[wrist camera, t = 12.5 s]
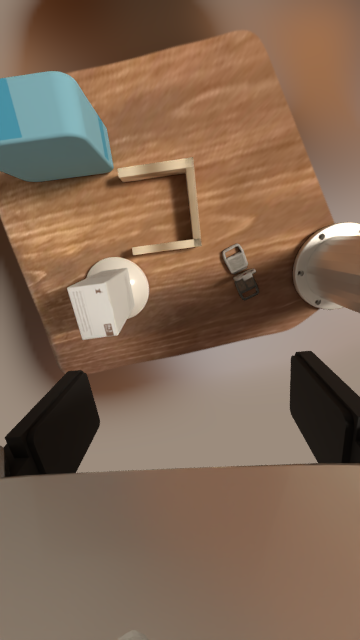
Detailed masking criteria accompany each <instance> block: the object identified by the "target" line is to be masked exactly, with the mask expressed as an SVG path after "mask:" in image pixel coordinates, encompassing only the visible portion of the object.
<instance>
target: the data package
mask: <svg viewBox="0 0 360 640" xmlns="http://www.w3.org/2000/svg"><path fill="white" fill-rule="evenodd" d="M112 170H113V162H112V156H111V150H110V145H109V139H108V133H107V129H106V127H105V125H104V124H103V122H102V121H101V119H100V118H99V116H98V115H97V113H96V112H95V110H94V108H93V107H92V105H91V104H90V102H89V101H88V99H87V98H86V96H85V95H84V93H83V91H82V90H81V88H80V87H79V85H78V84H77V82H76V81H75V80H74V79H73V78H72V77H71V76H69V75H67V74H65V73H62V72H57V71H48V72H41V73H35V74H28V75H21V76H14V77H8V78H1V79H0V171H2V172H4V173H7V174H9V175H12V176H14V177H17V178H19V179H22V180H24V181H29V182H42V181H50V180H57V179H65V178H72V177H80V176H87V175H95V174H103V173H108V172H111V171H112Z"/></svg>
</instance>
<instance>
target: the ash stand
mask: <svg viewBox="0 0 360 640" xmlns="http://www.w3.org/2000/svg"><path fill="white" fill-rule="evenodd" d="M117 170H118V175H119V178H120V179H121V180H122V181H123V182H130V181H136V180H143V179H150V178H157V177H163V176H170V175H177V174H184V173H186V183H187V192H188V201H189V211H190V220H191V230H192V240H184V241H177V242H170V243H162V244H155V245H148V246H140V247H133V248H132V251H133V255H138V254H145V253H153V252H160V251H168V250H175V249H182V248H190V247H197V246H202V245H201V235H200V225H199V214H198V204H197V193H196V183H195V172H194V162H193V157H191V158H185V159H178V160H171V161H165V162H158V163H151V164H145V165H138V166H131V167H125V168H118V169H117Z"/></svg>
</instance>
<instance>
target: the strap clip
mask: <svg viewBox="0 0 360 640" xmlns="http://www.w3.org/2000/svg"><path fill="white" fill-rule="evenodd" d="M234 247H238V248H239V250H240V251H239V252H237V253H236V254H234V255H232V256H230V257H228V258H226V256H225V252H227V251H229V250H231V249H233V248H234ZM222 255H223V259H224V261H225V263H226V265H227V267H228V269H229V271H230V272H231V273H233V274H236V273H238V272H240V271H241V270H243V269H245V268H247V265H248V262H247V259H246V257H245V254H244V251H243V249H242V247H241V246H240V245H239V244H235V245H232V246H230V247H228V248H226V249H225V250H223V251H222ZM254 273H256V270H255V269H249V270H247V271H245V272H243V273H241V274H239V275H237V276H235V277H234V278H233V279H234V281H235V284H236V287H237V290H238V293H239V295H240V296H241V298H242V299H243V300H247V299H249V298H251V297H253V296H255V295H257V294H258V293H259V290H258V286H257V284H256V282H255V280H254V278H253V275H252V274H254ZM252 288H256V293H254V294H252V295H250V296H248V297H246V298H244V297H243V295H242V293H244V292H246V291H248V290H250V289H252Z"/></svg>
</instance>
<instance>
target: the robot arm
mask: <svg viewBox="0 0 360 640" xmlns="http://www.w3.org/2000/svg"><path fill="white" fill-rule="evenodd" d="M319 236H320V238H319ZM298 272H299V274H298ZM293 282H294V285H295V288H296V291H297V292H298V294H299V295H300V297H301V298H302V299H303V300H304V301H306V302H307V303H309V304H310V305H312V306H314V307H317V308H321V309H328V310H333V309H340V308H343V307H345V308H348V309H350V310H353V311H355V312H358V313H360V224H358V223H353V222H343V223H336V224H332V225H329V226H326V227H324V228H322V229H320V230H318V231H317V232H316V233H314V234H313V235H312V236H310V237H309V239H308V240H307V241H306V242H305V243H304V244H303V246H302V247H301V249H300V250H299V252H298V254H297V256H296V259H295V262H294V266H293ZM315 301H316V302H315ZM290 411H291V415H292V417H293V419H294V420H295V422H296V424H297V426H298V428H299V429H300V431H301V433H302V434H303V437H304V438H305V440H306V442H307V444H308V445H309V447H310V449H311V451H312V453H313V454H314V456H315V458H316V460H317V462H318V463H313V464H286V465H285V464H284V465H256V466H228V467H202V468H201V467H200V468H175V469H152V470H130V471H129V470H128V471H109V472H108V471H107V472H86V473H76V471H77V469H78V467H79V465H80V463H81V461H82V459H83V457H84V455H85V454H86V452H87V450H88V447H89V446H90V444H91V442H92V440H93V437H94V435H95V434H96V432H97V430H98V428H99V425H100V419H99V415H98V412H97V408H96V405H95V401H94V398H93V395H92V391H91V387H90V384H89V380H88V377H87V374H86V373H83V371H81V370H78V371H68V372H67V373H66V374H65V375H64V376H63V377H62V378H61V379H60V380H59V381H58V382H57V383H56V384H55V386H54V387H53V388H52V389H51V390H50V391H49V392H48V393H47V394H46V395H45V396H44V397H43V398H42V399H41V400H40V401H39V402H38V403H37V404H36V405H35V406H34V408H32V409H31V411H30V412H29V413H28V414H27V415H26V416H25V417H24V418H23V419H22V420H21V421H20V422H19V423H18V424H17V425H16V426H15V427H14V428H13V429H12V430H11V431H10V432H9V433H8V434H7V436H6V437H5V439H6V442H7V444H6V445H5V447H4V448H3V447H2V446H0V640H360V397H359V396H358V395H357V394H356V393H355V392H354V391H353V390H352V389H351V388H350V387H349V386H348V385H347V384H346V383H344V382H343V381H342V380H341V379H340V378H339V377H338V376H337V375H336V374H335V373H334V372H333V371H332V370H331V369H330V368H329V367H328V366H327V365H325V364H324V363H323V362H322V361H321V360H320V359H319V358H318V357H317V356H316V355H315V354H314V353H313V352H312V351H303V352H296V354H295V356H292V357H291V381H290Z"/></svg>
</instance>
